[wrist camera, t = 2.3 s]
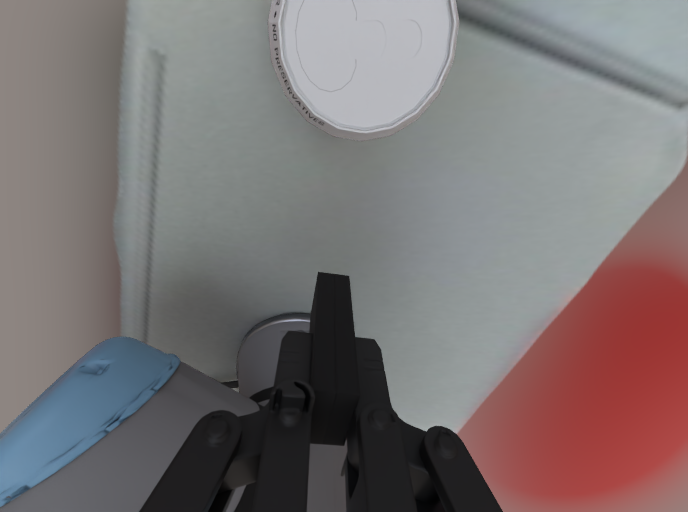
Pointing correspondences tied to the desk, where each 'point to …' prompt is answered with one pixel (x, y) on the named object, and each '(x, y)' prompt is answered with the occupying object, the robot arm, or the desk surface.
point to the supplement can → (362, 60)
